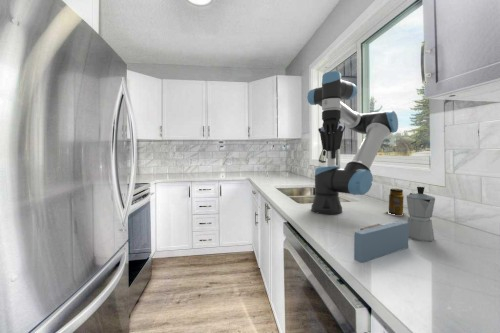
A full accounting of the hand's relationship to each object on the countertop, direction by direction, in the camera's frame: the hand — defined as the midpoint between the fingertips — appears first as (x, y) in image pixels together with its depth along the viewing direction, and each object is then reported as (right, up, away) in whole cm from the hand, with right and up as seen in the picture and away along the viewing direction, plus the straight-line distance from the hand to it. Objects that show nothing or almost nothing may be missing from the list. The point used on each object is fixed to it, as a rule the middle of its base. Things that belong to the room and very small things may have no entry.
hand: (331, 166), depth 105 cm
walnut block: (+9, -26, -23) cm, 36 cm away
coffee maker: (+26, -25, -17) cm, 40 cm away
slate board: (+5, -26, -31) cm, 41 cm away
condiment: (+36, -23, +15) cm, 45 cm away
